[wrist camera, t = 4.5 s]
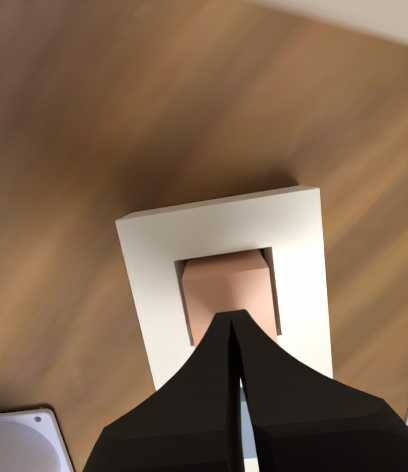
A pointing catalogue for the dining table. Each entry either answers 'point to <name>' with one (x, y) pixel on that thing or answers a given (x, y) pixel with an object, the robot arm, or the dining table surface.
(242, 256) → the terracotta button
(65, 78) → the dining table surface
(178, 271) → the button panel
